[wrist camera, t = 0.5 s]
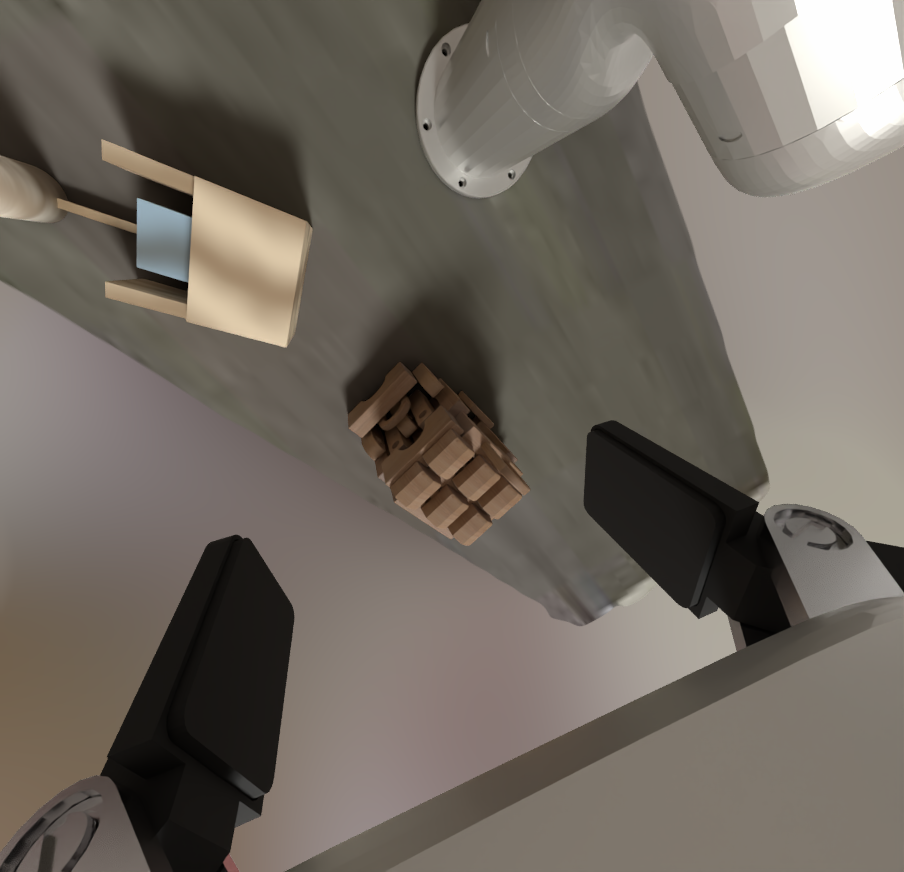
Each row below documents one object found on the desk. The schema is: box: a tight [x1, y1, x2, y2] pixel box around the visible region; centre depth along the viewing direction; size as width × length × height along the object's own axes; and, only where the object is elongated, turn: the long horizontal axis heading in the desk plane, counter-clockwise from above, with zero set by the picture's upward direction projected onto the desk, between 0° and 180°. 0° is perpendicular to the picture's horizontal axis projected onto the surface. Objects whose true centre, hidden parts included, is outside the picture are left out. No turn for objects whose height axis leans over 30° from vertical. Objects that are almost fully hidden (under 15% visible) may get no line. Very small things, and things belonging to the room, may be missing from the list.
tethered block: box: [0, 155, 192, 282], centre depth 27 cm, size 5×18×6 cm, turn 69°
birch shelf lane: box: [102, 140, 313, 347], centre depth 30 cm, size 11×13×7 cm
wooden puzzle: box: [348, 362, 530, 546], centre depth 40 cm, size 22×15×19 cm, turn 41°
